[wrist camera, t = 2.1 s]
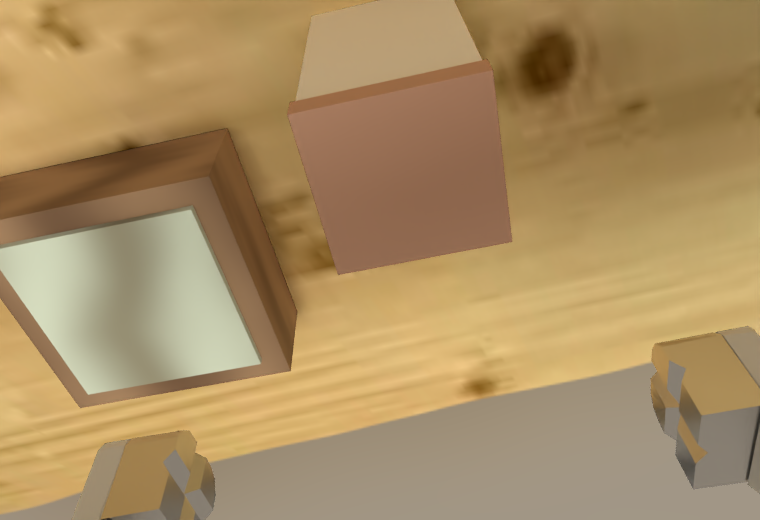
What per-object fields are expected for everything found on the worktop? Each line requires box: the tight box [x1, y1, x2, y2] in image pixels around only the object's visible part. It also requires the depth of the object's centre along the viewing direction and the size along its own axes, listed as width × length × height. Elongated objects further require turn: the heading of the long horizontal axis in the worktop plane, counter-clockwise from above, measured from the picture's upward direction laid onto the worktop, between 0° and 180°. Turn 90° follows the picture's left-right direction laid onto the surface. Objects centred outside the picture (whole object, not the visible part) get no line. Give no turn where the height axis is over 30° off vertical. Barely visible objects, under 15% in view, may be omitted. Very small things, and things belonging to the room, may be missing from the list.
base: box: [0, 128, 297, 408], centre depth 28 cm, size 10×10×4 cm
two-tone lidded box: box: [287, 0, 512, 275], centre depth 21 cm, size 5×5×9 cm
